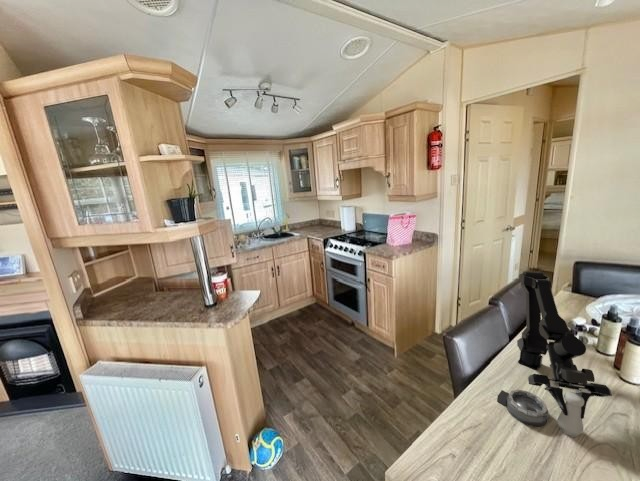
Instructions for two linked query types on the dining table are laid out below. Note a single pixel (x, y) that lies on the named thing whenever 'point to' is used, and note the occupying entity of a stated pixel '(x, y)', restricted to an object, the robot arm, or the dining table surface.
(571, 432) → the salt shaker
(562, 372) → the robot arm
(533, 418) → the grey round shallow dish
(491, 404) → the dining table surface
